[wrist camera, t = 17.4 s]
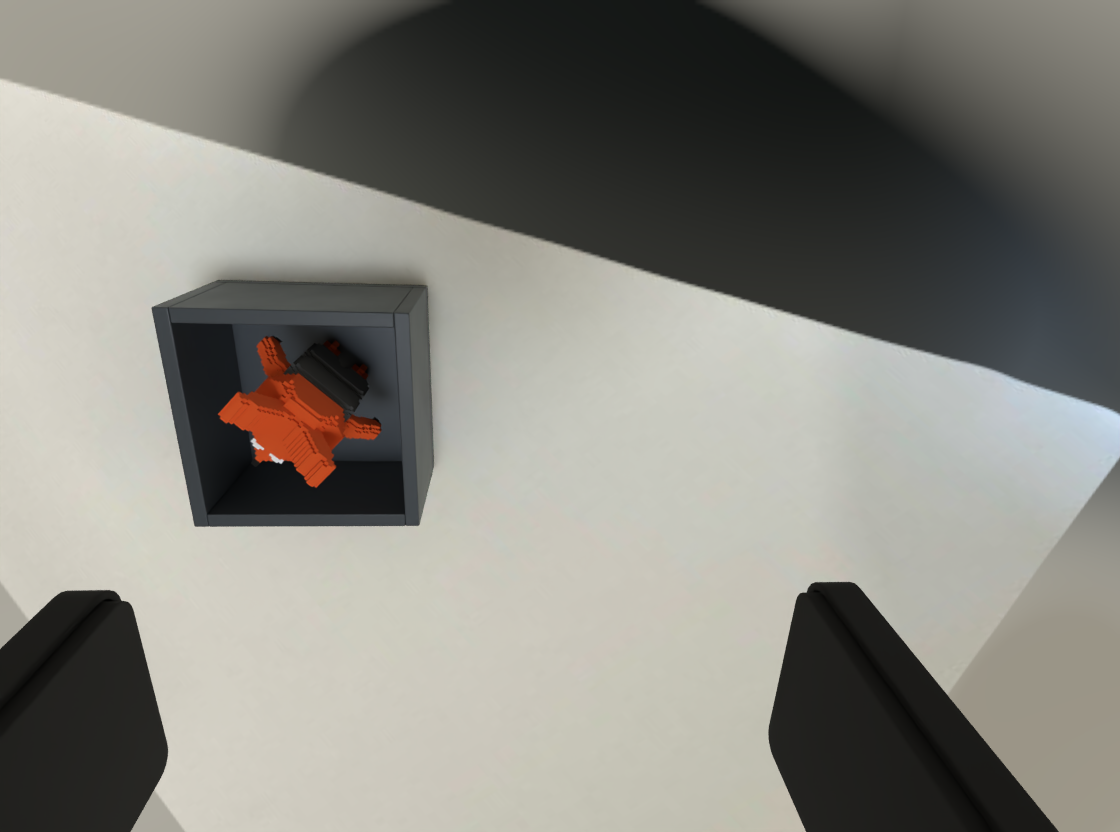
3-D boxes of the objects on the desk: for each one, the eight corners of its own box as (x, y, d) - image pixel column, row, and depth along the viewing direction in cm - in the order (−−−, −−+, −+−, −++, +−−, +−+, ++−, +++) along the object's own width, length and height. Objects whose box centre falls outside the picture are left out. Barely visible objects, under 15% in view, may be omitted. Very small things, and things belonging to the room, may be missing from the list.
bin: (427, 285, 40) (409, 313, 33) (434, 466, 45) (419, 526, 37) (217, 279, 39) (150, 307, 32) (246, 466, 43) (194, 527, 36)
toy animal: (248, 367, 40) (148, 446, 29) (303, 305, 39) (220, 363, 28) (350, 447, 43) (294, 548, 32) (404, 391, 41) (366, 476, 30)
